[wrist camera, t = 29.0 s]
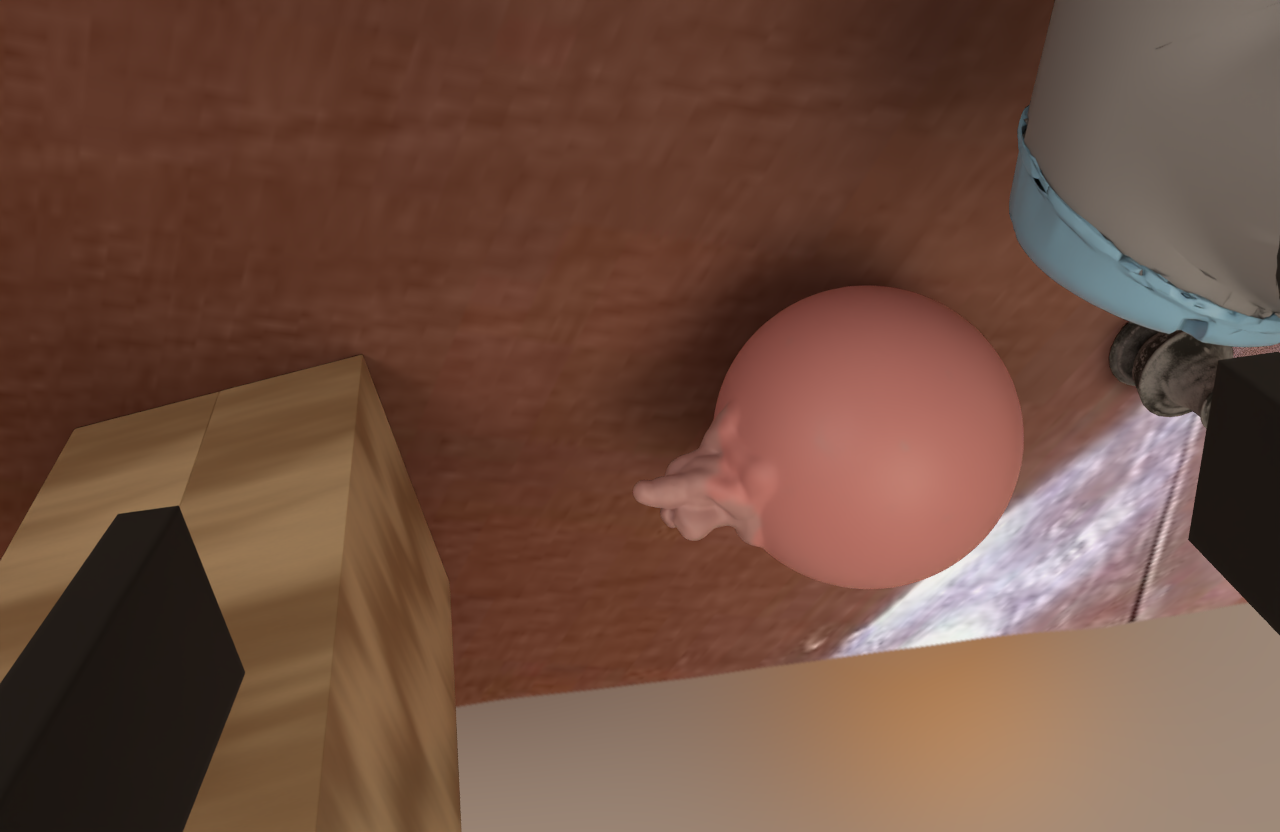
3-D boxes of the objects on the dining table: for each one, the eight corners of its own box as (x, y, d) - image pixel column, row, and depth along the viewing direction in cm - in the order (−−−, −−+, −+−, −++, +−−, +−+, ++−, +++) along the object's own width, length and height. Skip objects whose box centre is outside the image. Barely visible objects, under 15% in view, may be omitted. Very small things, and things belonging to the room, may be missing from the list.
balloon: (597, 260, 53) (657, 403, 40) (957, 230, 56) (1122, 354, 43) (606, 503, 61) (658, 689, 47) (921, 465, 64) (1051, 630, 51)
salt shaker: (1143, 403, 65) (1280, 512, 54) (1086, 363, 62) (1218, 469, 52) (1212, 330, 63) (1366, 428, 53) (1155, 285, 60) (1306, 379, 50)
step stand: (73, 428, 52) (-486, 1419, 20) (362, 354, 53) (281, 1182, 21) (203, 650, 60) (-41, 1602, 28) (449, 583, 61) (489, 1426, 29)
